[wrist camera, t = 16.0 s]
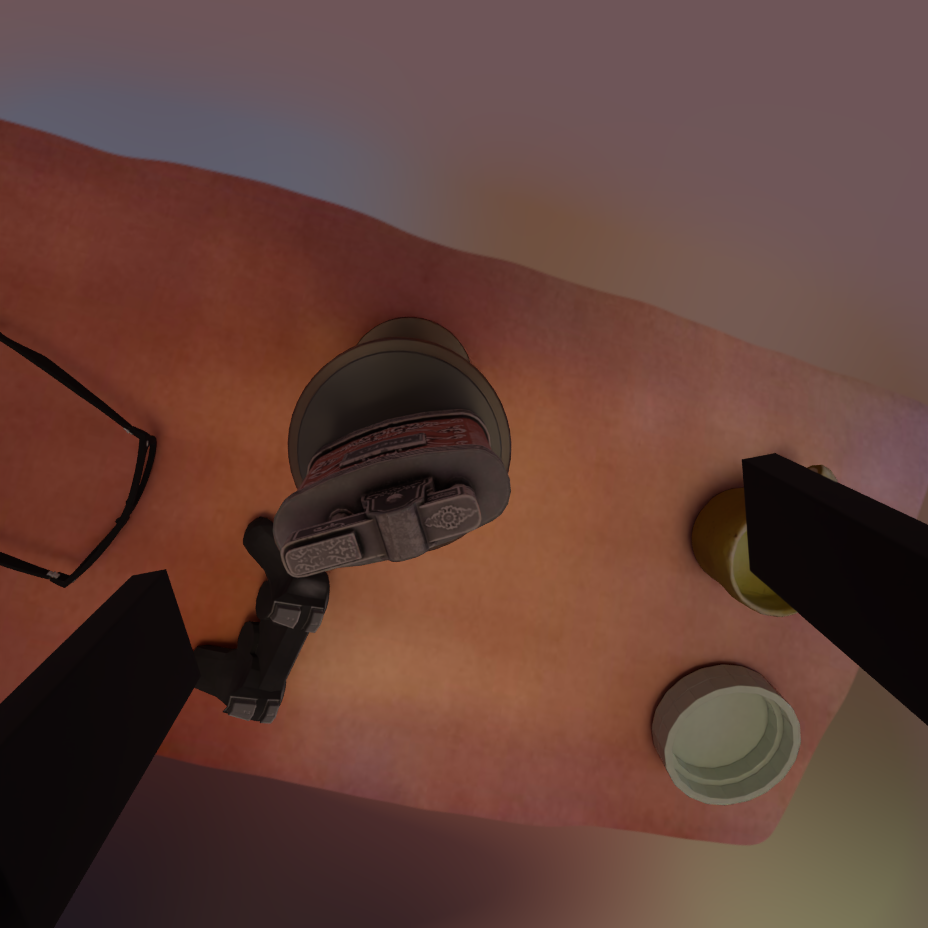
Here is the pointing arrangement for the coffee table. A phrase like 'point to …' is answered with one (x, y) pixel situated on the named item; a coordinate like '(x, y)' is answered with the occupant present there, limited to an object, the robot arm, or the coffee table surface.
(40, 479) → the coffee table surface
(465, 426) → the lighter
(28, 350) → the glasses
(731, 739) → the bowl
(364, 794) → the coffee table surface
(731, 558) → the mug
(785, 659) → the coffee table surface
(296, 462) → the stand
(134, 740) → the robot arm
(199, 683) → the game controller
